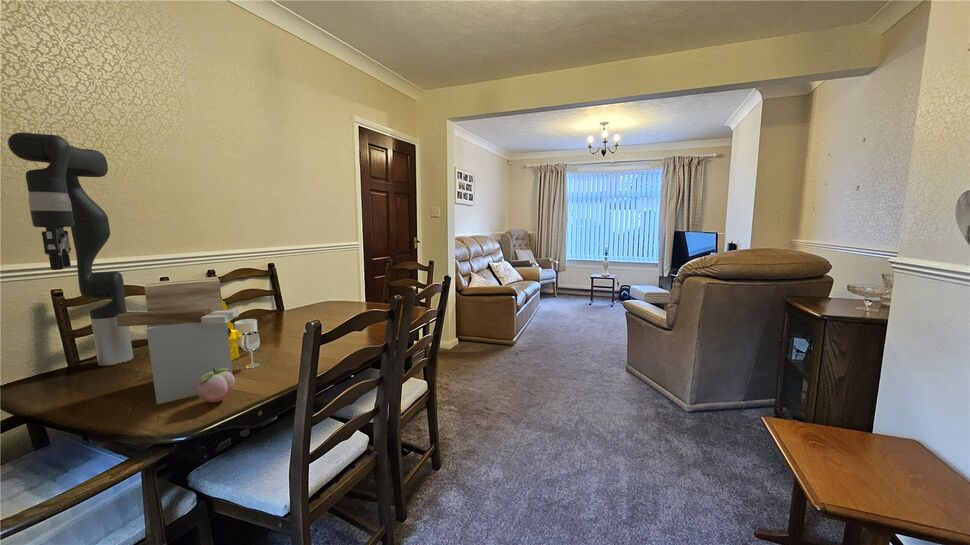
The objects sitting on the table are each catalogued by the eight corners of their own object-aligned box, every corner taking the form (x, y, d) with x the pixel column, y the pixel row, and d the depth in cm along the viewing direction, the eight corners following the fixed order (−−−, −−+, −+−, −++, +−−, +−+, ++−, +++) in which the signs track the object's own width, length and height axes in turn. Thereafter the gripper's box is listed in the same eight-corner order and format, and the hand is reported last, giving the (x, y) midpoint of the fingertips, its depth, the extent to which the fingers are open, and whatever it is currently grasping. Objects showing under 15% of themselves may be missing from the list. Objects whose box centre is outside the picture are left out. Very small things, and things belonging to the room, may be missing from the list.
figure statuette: (205, 369, 128) (198, 307, 124) (195, 364, 132) (187, 305, 128) (258, 353, 143) (253, 298, 140) (247, 349, 147) (242, 295, 144)
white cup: (248, 348, 148) (245, 324, 147) (231, 347, 150) (229, 323, 148) (263, 342, 156) (261, 319, 154) (247, 341, 157) (245, 318, 156)
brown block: (132, 321, 108) (131, 310, 107) (238, 316, 113) (237, 306, 112) (111, 329, 100) (109, 317, 99) (225, 323, 105) (224, 312, 105)
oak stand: (159, 379, 120) (146, 282, 115) (226, 365, 131) (217, 276, 127) (158, 389, 112) (144, 286, 108) (229, 373, 124) (219, 280, 119)
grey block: (158, 393, 110) (148, 322, 107) (230, 376, 121) (223, 312, 118) (156, 404, 103) (146, 328, 100) (233, 386, 114) (226, 317, 111)
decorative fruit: (214, 394, 109) (211, 362, 108) (241, 394, 109) (238, 362, 107) (188, 410, 100) (184, 375, 98) (218, 410, 100) (214, 375, 98)
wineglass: (239, 367, 129) (235, 334, 127) (254, 362, 134) (251, 330, 132) (250, 370, 126) (247, 336, 125) (265, 364, 132) (262, 331, 130)
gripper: (65, 209, 98) (75, 269, 100) (77, 210, 108) (85, 264, 111) (21, 208, 93) (33, 272, 95) (38, 210, 104) (48, 267, 106)
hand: (61, 268), depth 103 cm, fingers open, 8 cm apart
